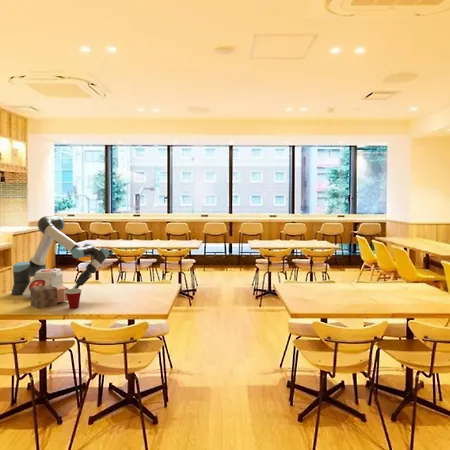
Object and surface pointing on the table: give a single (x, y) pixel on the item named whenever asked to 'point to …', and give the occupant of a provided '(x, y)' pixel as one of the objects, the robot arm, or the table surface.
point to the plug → (61, 294)
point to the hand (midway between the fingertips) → (72, 292)
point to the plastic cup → (73, 297)
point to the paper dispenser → (45, 279)
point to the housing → (43, 296)
